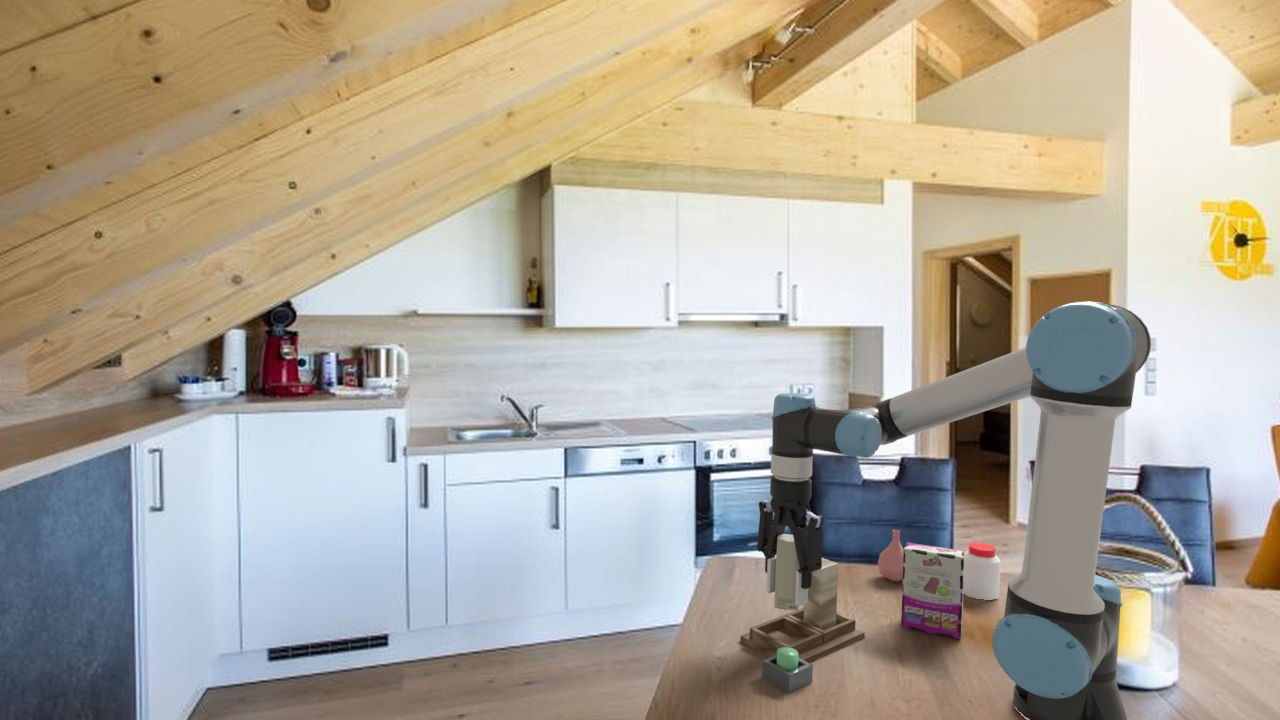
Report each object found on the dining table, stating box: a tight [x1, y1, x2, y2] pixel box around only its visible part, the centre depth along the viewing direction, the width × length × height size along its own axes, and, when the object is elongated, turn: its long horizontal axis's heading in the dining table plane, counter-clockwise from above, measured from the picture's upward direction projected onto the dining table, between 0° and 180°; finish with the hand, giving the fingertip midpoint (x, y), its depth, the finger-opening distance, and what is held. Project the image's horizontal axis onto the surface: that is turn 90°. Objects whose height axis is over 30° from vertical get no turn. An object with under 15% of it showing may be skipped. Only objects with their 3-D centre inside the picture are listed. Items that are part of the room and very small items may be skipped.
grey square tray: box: [761, 654, 814, 694], centre depth 115 cm, size 6×6×3 cm
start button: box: [777, 647, 798, 672], centre depth 115 cm, size 4×4×4 cm
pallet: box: [739, 557, 866, 663], centre depth 130 cm, size 13×21×14 cm, turn 127°
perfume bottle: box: [877, 529, 904, 582], centre depth 161 cm, size 8×8×12 cm
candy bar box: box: [900, 542, 966, 640], centre depth 135 cm, size 11×5×16 cm, turn 62°
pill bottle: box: [963, 542, 1002, 601], centre depth 153 cm, size 8×8×11 cm
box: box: [774, 533, 800, 611], centre depth 126 cm, size 5×4×13 cm
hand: (786, 597), depth 127 cm, fingers closed on box, 6 cm apart
